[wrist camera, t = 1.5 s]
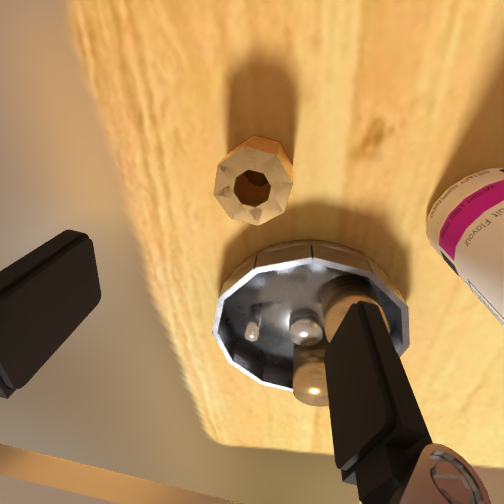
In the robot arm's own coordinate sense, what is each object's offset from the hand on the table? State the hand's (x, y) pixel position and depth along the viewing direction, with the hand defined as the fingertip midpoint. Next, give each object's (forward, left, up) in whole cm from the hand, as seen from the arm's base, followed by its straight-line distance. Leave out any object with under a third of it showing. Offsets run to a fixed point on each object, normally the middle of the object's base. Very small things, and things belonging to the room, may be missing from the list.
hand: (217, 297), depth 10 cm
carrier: (+15, +9, -16) cm, 24 cm away
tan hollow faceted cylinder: (0, 0, -16) cm, 16 cm away
